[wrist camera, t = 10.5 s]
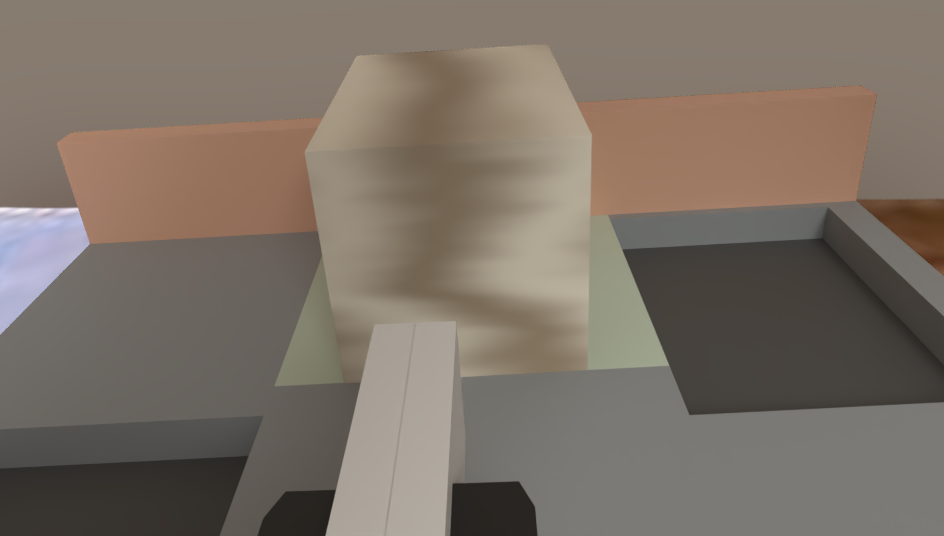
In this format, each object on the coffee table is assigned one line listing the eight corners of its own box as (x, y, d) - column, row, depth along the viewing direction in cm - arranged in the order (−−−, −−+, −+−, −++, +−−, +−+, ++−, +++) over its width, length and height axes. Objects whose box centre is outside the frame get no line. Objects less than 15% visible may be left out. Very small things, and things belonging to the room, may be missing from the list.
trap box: (834, 226, 37) (861, 85, 34) (1749, 1120, 11) (2282, 876, 7) (115, 266, 38) (72, 132, 35) (-695, 1194, 11) (-1209, 1004, 8)
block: (549, 218, 35) (547, 43, 31) (587, 370, 25) (591, 134, 21) (379, 228, 35) (356, 55, 31) (344, 383, 25) (304, 152, 21)
